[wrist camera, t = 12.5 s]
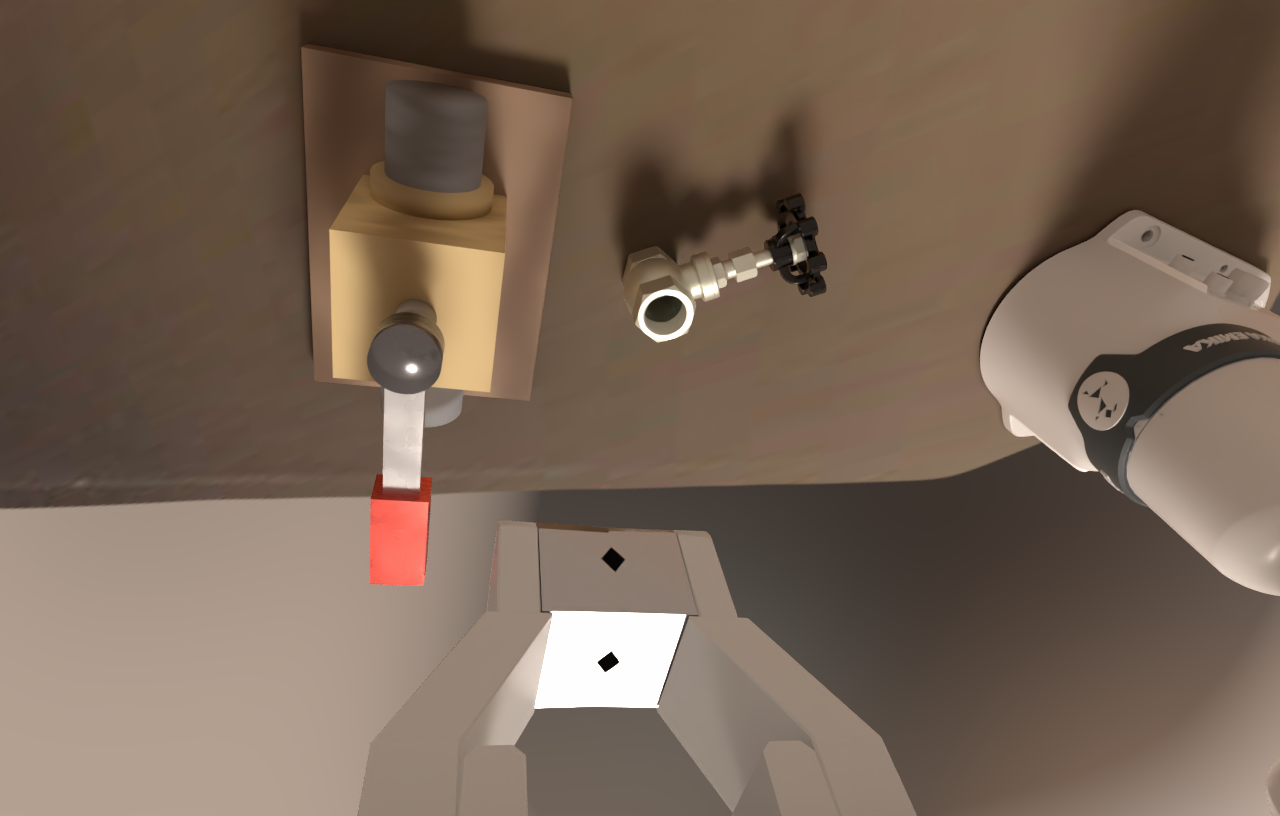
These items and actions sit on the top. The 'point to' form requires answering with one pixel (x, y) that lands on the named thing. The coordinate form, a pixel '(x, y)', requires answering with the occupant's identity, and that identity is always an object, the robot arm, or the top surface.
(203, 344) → the top surface
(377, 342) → the valve lever
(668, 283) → the valve
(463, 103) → the valve manifold
